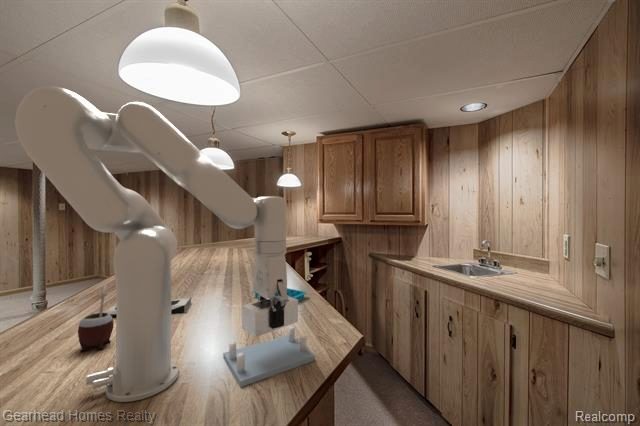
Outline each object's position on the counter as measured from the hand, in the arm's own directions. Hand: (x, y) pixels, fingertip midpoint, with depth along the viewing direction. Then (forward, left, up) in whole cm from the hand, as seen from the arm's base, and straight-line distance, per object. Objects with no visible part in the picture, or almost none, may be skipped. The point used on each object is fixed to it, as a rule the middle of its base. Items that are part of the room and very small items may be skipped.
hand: (270, 321), depth 65 cm
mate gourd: (-35, +30, -9) cm, 47 cm away
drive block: (0, 0, -1) cm, 1 cm away
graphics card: (-22, +52, -10) cm, 57 cm away
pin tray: (0, 0, -9) cm, 9 cm away
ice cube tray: (+22, +41, -10) cm, 47 cm away
